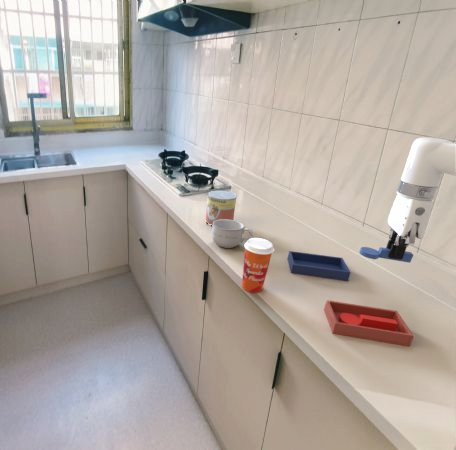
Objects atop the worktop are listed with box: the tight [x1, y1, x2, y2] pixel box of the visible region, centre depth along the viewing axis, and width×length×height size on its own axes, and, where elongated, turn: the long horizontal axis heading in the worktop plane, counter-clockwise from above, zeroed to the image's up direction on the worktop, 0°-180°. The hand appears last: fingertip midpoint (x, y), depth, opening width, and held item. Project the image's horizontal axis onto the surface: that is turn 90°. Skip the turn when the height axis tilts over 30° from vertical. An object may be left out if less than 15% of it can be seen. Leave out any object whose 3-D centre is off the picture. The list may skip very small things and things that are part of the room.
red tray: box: [323, 299, 415, 347], centre depth 81 cm, size 16×9×3 cm, turn 77°
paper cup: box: [241, 237, 275, 294], centre depth 93 cm, size 8×8×14 cm
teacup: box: [211, 219, 254, 249], centre depth 118 cm, size 14×11×8 cm
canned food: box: [205, 189, 238, 225], centre depth 136 cm, size 11×11×12 cm
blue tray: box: [287, 250, 352, 282], centre depth 106 cm, size 16×9×3 cm, turn 77°
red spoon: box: [339, 313, 398, 331], centre depth 81 cm, size 12×5×2 cm, turn 77°
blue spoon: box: [358, 246, 414, 264], centre depth 90 cm, size 12×5×2 cm, turn 77°
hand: (393, 255), depth 90 cm, fingers closed on blue spoon, 1 cm apart
